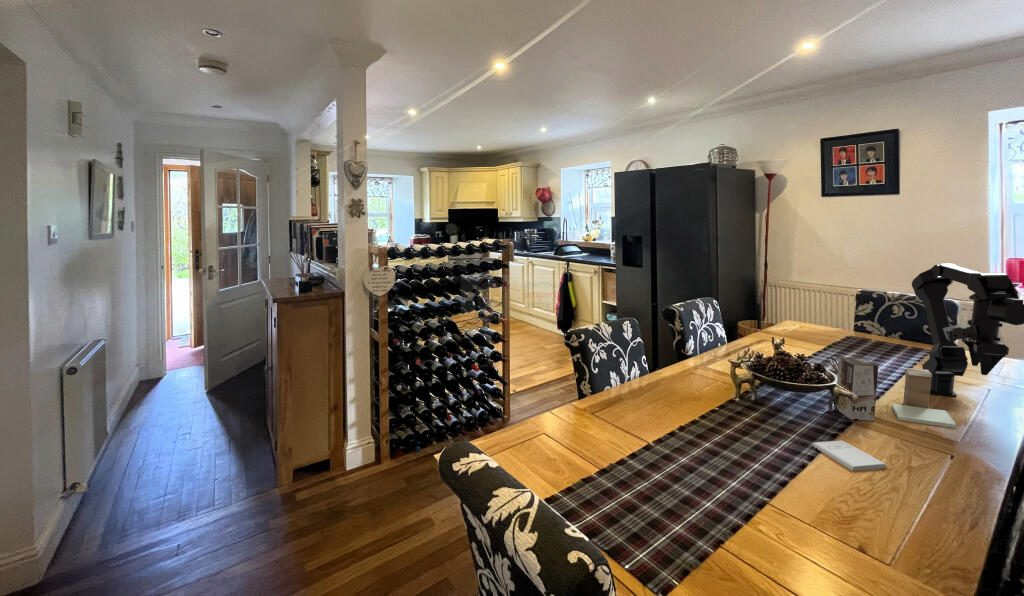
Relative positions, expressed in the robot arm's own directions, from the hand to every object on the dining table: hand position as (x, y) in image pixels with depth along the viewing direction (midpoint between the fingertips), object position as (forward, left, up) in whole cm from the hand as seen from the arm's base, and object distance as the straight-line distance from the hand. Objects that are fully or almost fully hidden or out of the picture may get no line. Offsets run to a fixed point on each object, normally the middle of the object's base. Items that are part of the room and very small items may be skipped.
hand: (979, 370), depth 135 cm
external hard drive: (+50, -34, -13) cm, 62 cm away
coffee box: (+19, -30, -12) cm, 38 cm away
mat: (+13, -14, -12) cm, 23 cm away
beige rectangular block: (+4, -14, -12) cm, 19 cm away
